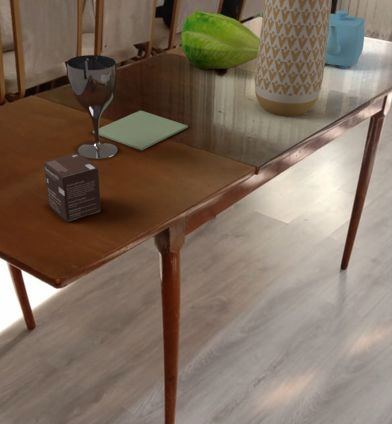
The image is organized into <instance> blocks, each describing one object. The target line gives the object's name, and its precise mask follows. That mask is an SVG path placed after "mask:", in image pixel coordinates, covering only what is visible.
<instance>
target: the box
mask: <svg viewBox="0 0 392 424" xmlns="http://www.w3.org/2000/svg"><path fill="white" fill-rule="evenodd" d="M42 163H43V169H44V177H45V185H46V193H47V203H48V207H50V208H51V209H52V210H53V211H54V212H55V213H56V214H57V215H58V216H59V217H61V218H62V219H63V220H64V221H65V222H67V223H68V222H72V221H75V220H77V219H81V218H83V217H86V216H91V215H93V214H98V213H100V212H101V211H102V210H101V209H102V208H101V193H100V192H101V191H100V175H99V167H98V166H96V165H95V164H93V162H91V161H90V160H89V158H87V157H84V156H82V155H80V154H79V153H78V152H75V153H72V154H69V155H68V154H67V155H64V156H62V157H57V158H53V159H50V160H46V161H43V162H42Z"/></svg>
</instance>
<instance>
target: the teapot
mask: <svg viewBox="0 0 392 424" xmlns="http://www.w3.org/2000/svg"><path fill="white" fill-rule="evenodd" d="M364 44H365V20H364V18H363V17H359V16H353V15H349V11H346V10H342V9H341V10H337V11H336V13H330V21H329V30H328V39H327V48H326V57H325V65H326V64H329V65H334V66H337V67H338V68H339V69H347V68H348V67H353V66H355V65H356V64H357V62H358V61H359V60H360V57H361V56H362V53H363V50H364Z"/></svg>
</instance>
